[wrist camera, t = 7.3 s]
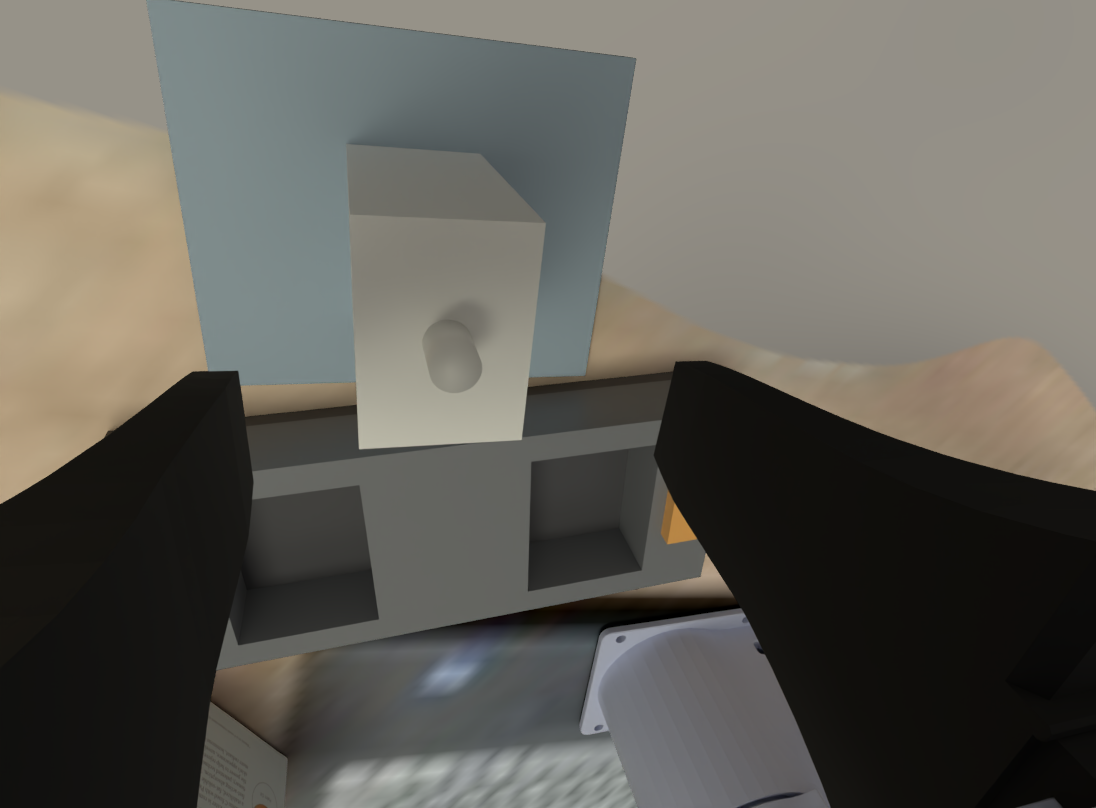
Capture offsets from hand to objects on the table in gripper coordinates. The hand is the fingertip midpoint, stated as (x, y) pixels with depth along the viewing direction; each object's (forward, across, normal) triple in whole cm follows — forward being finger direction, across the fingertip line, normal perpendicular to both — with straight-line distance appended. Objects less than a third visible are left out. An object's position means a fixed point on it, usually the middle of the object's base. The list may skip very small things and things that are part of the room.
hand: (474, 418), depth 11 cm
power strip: (+11, -1, +10) cm, 14 cm away
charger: (+10, 0, 0) cm, 10 cm away
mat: (+10, 0, 0) cm, 10 cm away
